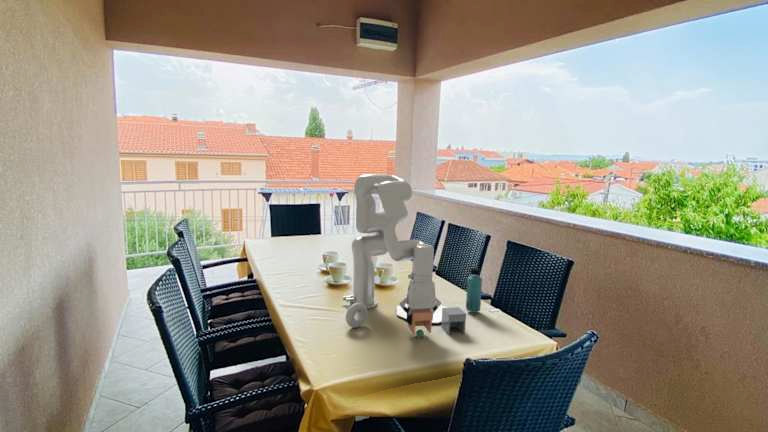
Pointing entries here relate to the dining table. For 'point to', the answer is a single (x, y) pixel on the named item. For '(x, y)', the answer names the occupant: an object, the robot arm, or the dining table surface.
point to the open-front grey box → (453, 319)
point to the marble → (419, 333)
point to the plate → (436, 316)
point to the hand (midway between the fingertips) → (419, 322)
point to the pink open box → (421, 319)
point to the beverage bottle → (474, 291)
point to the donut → (351, 314)
